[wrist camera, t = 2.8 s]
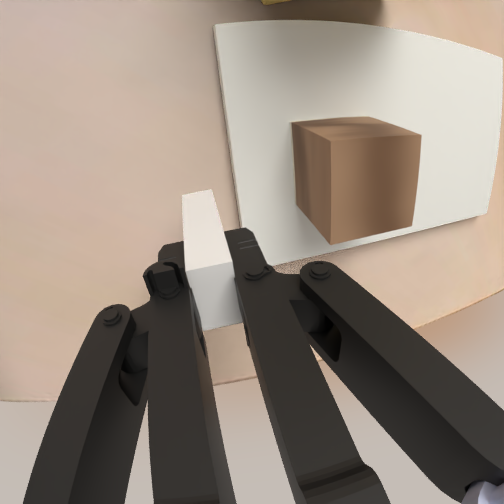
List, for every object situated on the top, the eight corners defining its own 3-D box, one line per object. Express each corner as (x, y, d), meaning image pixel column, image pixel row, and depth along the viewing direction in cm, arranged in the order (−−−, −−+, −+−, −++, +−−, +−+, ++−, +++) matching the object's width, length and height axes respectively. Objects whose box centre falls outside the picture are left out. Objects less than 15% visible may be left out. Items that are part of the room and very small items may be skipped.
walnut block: (294, 203, 23) (330, 245, 18) (289, 121, 19) (330, 141, 14) (365, 191, 23) (411, 226, 18) (367, 115, 20) (421, 135, 15)
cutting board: (245, 262, 26) (248, 271, 25) (212, 27, 16) (215, 24, 15) (479, 208, 29) (486, 213, 28) (493, 56, 19) (502, 58, 18)
